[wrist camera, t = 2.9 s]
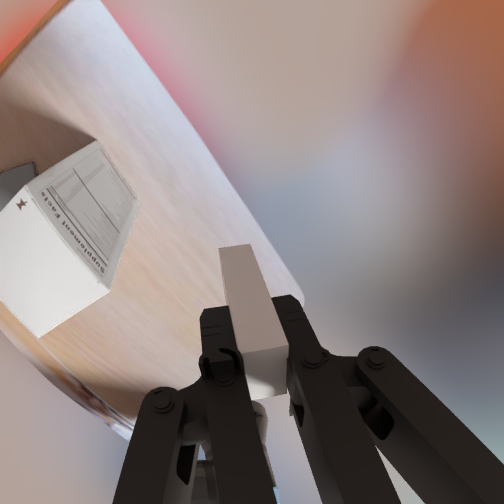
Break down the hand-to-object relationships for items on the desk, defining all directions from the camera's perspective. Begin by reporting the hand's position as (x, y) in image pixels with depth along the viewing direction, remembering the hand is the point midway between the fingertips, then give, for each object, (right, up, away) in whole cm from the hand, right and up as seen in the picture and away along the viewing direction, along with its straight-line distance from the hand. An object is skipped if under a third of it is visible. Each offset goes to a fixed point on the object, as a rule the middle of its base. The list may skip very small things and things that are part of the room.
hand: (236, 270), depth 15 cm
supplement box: (-18, +7, +16) cm, 25 cm away
